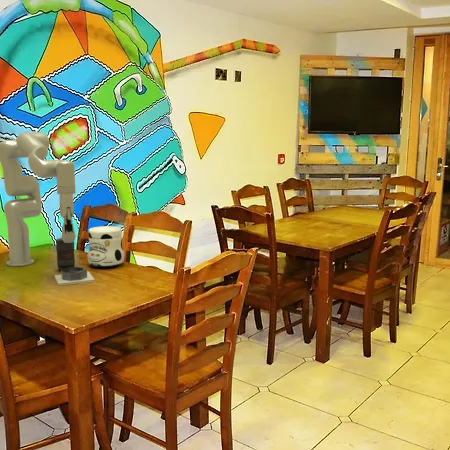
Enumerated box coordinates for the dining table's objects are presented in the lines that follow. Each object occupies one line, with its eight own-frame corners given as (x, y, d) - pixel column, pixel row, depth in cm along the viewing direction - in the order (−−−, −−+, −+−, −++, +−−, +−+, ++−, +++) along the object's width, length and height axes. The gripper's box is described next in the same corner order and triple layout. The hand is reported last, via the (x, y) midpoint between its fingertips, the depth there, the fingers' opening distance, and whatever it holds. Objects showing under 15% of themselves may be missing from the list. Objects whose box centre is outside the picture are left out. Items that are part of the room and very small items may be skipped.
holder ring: (60, 275, 244) (60, 268, 243) (84, 273, 248) (84, 265, 247) (63, 281, 234) (63, 273, 234) (88, 279, 238) (88, 271, 238)
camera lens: (78, 268, 261) (76, 237, 258) (71, 272, 253) (70, 240, 250) (61, 267, 261) (59, 236, 259) (54, 272, 253) (52, 240, 251)
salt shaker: (63, 240, 240) (62, 211, 238) (76, 240, 241) (75, 211, 238) (60, 243, 235) (58, 213, 232) (74, 243, 235) (72, 213, 233)
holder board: (54, 277, 245) (54, 275, 244) (89, 274, 250) (88, 271, 250) (58, 285, 232) (58, 283, 232) (94, 281, 238) (94, 279, 238)
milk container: (87, 270, 256) (85, 232, 253) (88, 262, 273) (87, 226, 270) (124, 269, 260) (123, 231, 256) (124, 260, 276) (123, 225, 273)
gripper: (55, 188, 240) (57, 230, 243) (59, 192, 225) (61, 236, 228) (72, 187, 243) (74, 228, 246) (78, 191, 228) (79, 235, 231)
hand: (68, 232), depth 237 cm, fingers closed on salt shaker, 3 cm apart
